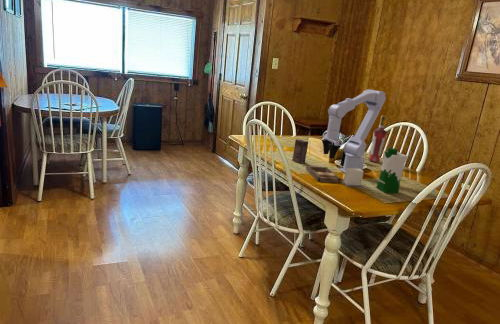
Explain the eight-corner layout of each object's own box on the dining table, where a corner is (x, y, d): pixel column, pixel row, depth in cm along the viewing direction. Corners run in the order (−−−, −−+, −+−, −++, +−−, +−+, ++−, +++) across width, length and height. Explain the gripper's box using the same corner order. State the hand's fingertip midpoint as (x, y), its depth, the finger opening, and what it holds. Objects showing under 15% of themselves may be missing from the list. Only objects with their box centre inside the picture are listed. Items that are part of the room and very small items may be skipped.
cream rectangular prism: (356, 182, 175) (359, 168, 173) (360, 185, 171) (363, 171, 169) (343, 181, 173) (346, 167, 171) (346, 184, 169) (349, 170, 168)
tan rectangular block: (332, 178, 178) (333, 173, 177) (334, 181, 174) (335, 175, 173) (316, 177, 177) (317, 171, 176) (318, 180, 173) (319, 174, 173)
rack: (326, 170, 189) (326, 167, 189) (339, 182, 172) (340, 178, 172) (305, 169, 187) (306, 165, 187) (318, 181, 170) (318, 177, 170)
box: (305, 162, 200) (308, 141, 197) (299, 163, 197) (303, 142, 194) (297, 159, 205) (300, 138, 201) (291, 160, 202) (295, 139, 198)
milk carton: (373, 187, 172) (382, 146, 167) (389, 187, 175) (398, 147, 169) (384, 194, 164) (394, 151, 159) (401, 194, 167) (411, 152, 161)
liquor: (367, 158, 227) (376, 114, 219) (379, 160, 225) (389, 116, 217) (367, 161, 220) (377, 115, 212) (380, 163, 218) (390, 117, 211)
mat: (356, 182, 176) (356, 181, 176) (363, 187, 170) (363, 186, 169) (341, 181, 175) (341, 180, 174) (347, 186, 168) (347, 185, 168)
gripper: (320, 125, 183) (316, 151, 187) (331, 131, 170) (326, 159, 174) (333, 126, 185) (328, 152, 189) (345, 133, 171) (340, 160, 175)
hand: (328, 156), depth 181 cm, fingers open, 7 cm apart
